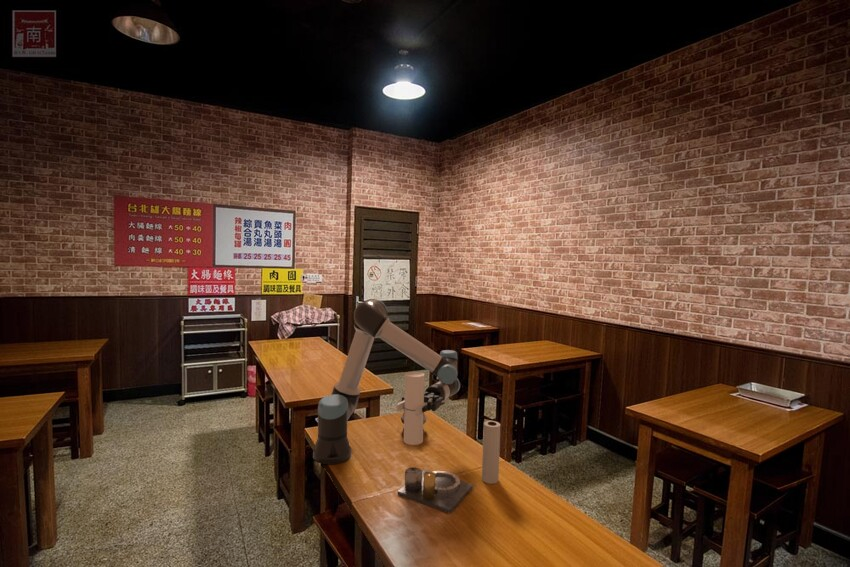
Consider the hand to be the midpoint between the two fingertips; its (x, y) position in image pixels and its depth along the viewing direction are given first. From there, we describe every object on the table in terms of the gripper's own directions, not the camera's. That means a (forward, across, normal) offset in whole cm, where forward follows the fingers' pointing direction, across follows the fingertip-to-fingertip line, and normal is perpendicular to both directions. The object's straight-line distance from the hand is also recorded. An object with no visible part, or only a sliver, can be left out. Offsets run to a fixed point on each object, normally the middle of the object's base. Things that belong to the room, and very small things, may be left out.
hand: (407, 410), depth 150 cm
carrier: (0, -12, -26) cm, 29 cm away
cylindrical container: (-5, 0, -13) cm, 14 cm away
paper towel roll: (-18, -26, -27) cm, 41 cm away
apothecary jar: (-41, +21, -27) cm, 53 cm away
